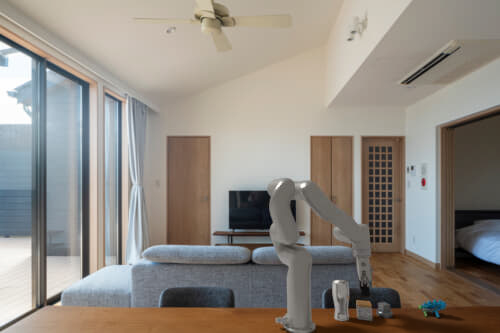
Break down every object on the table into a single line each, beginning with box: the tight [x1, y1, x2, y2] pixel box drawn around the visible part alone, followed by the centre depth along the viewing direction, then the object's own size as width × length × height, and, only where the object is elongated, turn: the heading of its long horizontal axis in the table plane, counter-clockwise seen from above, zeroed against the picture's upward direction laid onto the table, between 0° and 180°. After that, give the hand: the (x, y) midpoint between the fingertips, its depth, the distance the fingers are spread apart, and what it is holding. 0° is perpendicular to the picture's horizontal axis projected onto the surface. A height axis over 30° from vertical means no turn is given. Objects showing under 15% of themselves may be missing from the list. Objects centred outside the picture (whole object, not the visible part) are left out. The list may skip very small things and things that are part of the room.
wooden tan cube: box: [355, 299, 373, 322], centre depth 124 cm, size 6×6×6 cm
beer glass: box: [331, 279, 350, 322], centre depth 124 cm, size 7×7×15 cm
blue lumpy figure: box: [418, 299, 448, 318], centre depth 125 cm, size 11×6×10 cm
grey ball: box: [376, 301, 394, 319], centre depth 126 cm, size 6×6×5 cm
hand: (364, 292), depth 125 cm, fingers open, 9 cm apart
